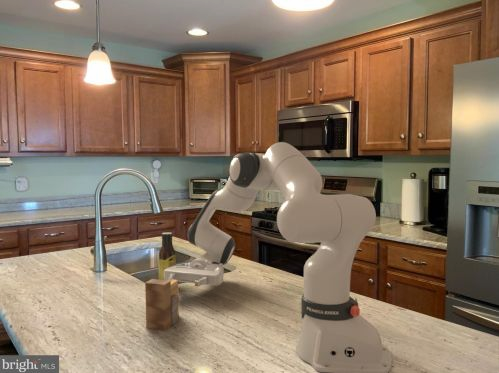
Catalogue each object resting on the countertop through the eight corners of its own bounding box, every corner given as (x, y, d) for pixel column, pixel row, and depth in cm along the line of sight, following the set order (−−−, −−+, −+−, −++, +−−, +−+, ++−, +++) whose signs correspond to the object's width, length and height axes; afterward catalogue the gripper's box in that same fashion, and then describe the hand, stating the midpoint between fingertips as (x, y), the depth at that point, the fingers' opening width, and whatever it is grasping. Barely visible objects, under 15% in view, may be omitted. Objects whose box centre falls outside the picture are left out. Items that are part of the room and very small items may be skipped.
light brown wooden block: (178, 315, 121) (178, 279, 120) (169, 323, 115) (168, 286, 114) (169, 314, 122) (168, 279, 121) (159, 321, 116) (158, 285, 115)
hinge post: (177, 321, 116) (176, 278, 115) (166, 330, 110) (166, 284, 109) (156, 318, 118) (155, 276, 117) (144, 327, 112) (143, 282, 111)
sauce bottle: (172, 289, 145) (171, 235, 143) (156, 288, 146) (154, 234, 144) (178, 283, 151) (178, 231, 149) (163, 282, 152) (162, 231, 151)
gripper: (174, 259, 144) (154, 270, 131) (227, 264, 138) (212, 275, 125) (174, 276, 145) (154, 288, 131) (227, 281, 139) (212, 295, 125)
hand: (183, 282), depth 128 cm, fingers open, 8 cm apart
